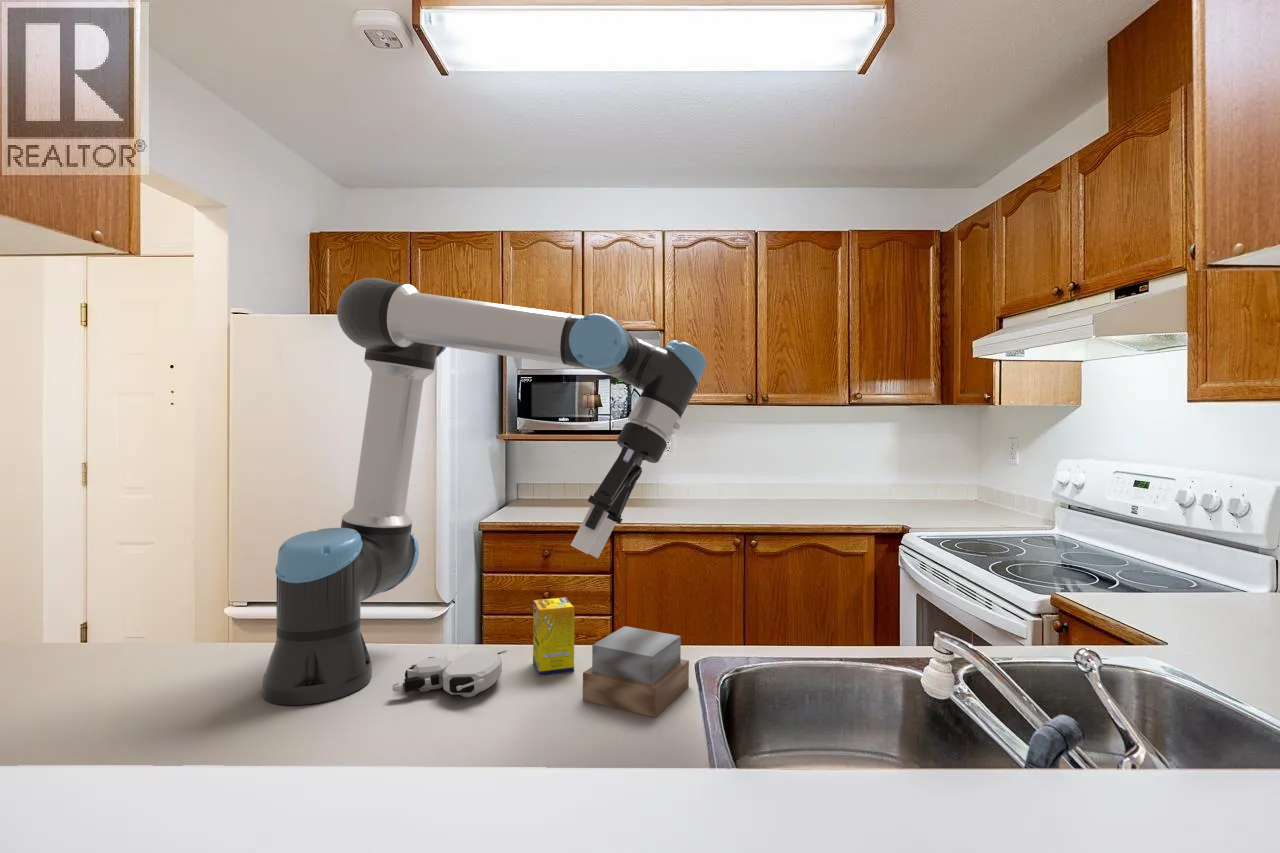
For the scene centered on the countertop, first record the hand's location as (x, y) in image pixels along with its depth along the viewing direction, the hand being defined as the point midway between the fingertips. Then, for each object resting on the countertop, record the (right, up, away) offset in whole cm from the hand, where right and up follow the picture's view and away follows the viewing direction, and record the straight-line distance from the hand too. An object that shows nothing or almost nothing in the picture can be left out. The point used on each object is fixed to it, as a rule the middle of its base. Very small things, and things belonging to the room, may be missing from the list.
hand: (584, 552), depth 95 cm
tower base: (+8, -21, 0) cm, 23 cm away
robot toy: (-21, -22, +1) cm, 30 cm away
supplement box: (-6, -22, +9) cm, 24 cm away
